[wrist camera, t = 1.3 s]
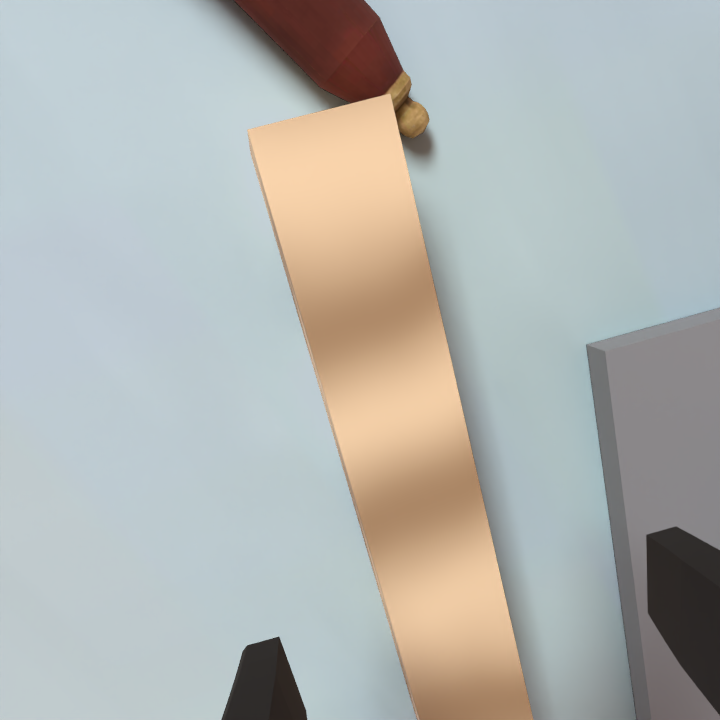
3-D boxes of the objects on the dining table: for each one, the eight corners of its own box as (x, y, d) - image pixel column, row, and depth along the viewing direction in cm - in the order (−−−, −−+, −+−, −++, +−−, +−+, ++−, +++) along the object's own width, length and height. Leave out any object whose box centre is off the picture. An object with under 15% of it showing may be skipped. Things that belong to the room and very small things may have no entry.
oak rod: (491, 674, 24) (547, 784, 19) (411, 702, 24) (449, 822, 19) (357, 128, 19) (390, 93, 14) (251, 155, 18) (247, 129, 13)
